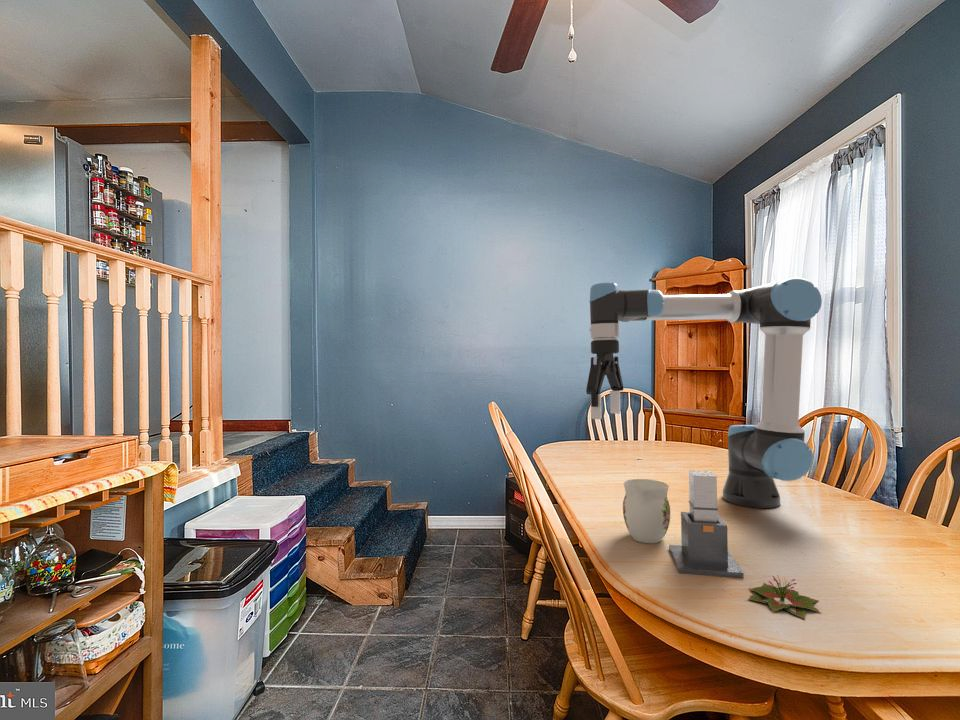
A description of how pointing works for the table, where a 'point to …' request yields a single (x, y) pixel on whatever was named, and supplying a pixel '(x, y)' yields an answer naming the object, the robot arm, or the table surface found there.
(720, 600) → the table surface
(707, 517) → the column
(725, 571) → the stand
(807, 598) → the lily flower
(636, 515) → the pitcher
